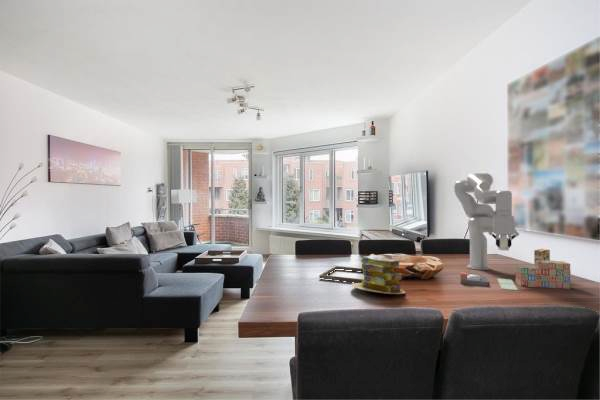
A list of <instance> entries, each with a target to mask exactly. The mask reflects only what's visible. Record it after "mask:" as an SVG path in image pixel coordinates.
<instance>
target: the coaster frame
mask: <svg viewBox="0 0 600 400" xmlns="http://www.w3.org/2000/svg"><path fill="white" fill-rule="evenodd" d="M335 269H344V270H352V271H361V272H363V270H362V267H361V268H360V267H351V266H339V265H335V266H332V267H331V268H329V269H328V270H325V272H323V273H321V274H319V275H318V277H319V278H324V279H332V280H339V281H346V282H354V283H362V280H364V278H356V277H355V278H354V277H345V276H335V275H328V276H327V274H329V273H330V272H332V271H334V270H335Z"/></svg>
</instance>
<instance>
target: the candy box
mask: <svg viewBox="0 0 600 400" xmlns="http://www.w3.org/2000/svg"><path fill="white" fill-rule="evenodd" d="M533 253H534V258H533V260H534V266H536V260H540V261H551V250H550V249H548V248H540V249H534V250H533Z"/></svg>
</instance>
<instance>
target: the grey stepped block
mask: <svg viewBox="0 0 600 400" xmlns="http://www.w3.org/2000/svg"><path fill="white" fill-rule="evenodd" d="M468 275H469V274H468V273H467V272H463V271H462V272H460V284H461V285H468V286H470V285H471V286H477V287H478V286H479V287H488V286H489V285H488V284H489V282H488V278H487V276H484V275H483V276H482V275H478V276H479V277H481V280H472V279H467V276H468Z"/></svg>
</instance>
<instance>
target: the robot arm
mask: <svg viewBox="0 0 600 400" xmlns="http://www.w3.org/2000/svg"><path fill="white" fill-rule="evenodd" d="M493 181H494V178H493V175H491V174H490V173H487V172H486V173H485V172H484V173H479V172H477V173H471V174H469V175H468V176H467V177H466V179H462V180H461V179H460V180H458V181H456V182H455V183H454V185H453V187H454V194H455V196H456V198H457V199H458V201H459V202H460V205H462V206H461V207H462V208H463V211H464V213H465V215H466V217H467V218H468V219H469V220H467V227H468V233H469V263H468V264H467V265H466V267H467V268H469V269H472V270H473V269H474V270H480V271H481V270H483V271H484V270H485V271H486V270H487V271H488V270H490V269H491V266H490V265H488V239H487V237H486V235H485V234H484V233H488V235H489V236H491V237H493V238H494V239H495V246H496V247H497V248H499V238H500V235H507V238H508V248H509V249H510V248H511V247H512V241H513V240H514V239H515V238H516V237H518V236H519V235H520V233H519V232H518V231H517V229H516V223H515V217H514V216H513V213H512V212H513V210H512V209H513V207H512V206H513V204H512V203H513V196H512V195H513V193H512V192H511V191H510V190H490V189H491V186H492V185H493V183H494V182H493ZM470 193H471V194H472V193H473V195H474V197H473V196H472V195H471V194H470ZM476 200H477V201H478V202H479V203H477V201H476ZM491 205H495V210H494V208H493V207H492V206H491Z"/></svg>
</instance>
